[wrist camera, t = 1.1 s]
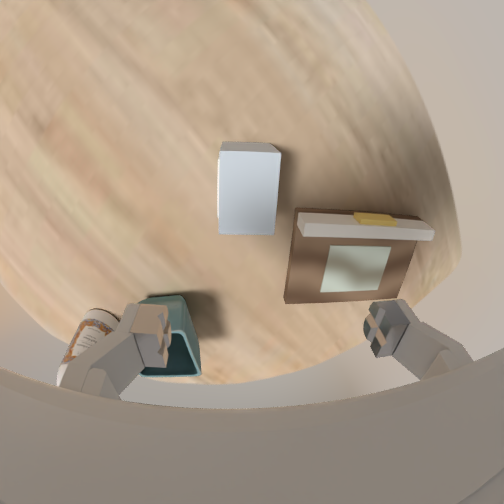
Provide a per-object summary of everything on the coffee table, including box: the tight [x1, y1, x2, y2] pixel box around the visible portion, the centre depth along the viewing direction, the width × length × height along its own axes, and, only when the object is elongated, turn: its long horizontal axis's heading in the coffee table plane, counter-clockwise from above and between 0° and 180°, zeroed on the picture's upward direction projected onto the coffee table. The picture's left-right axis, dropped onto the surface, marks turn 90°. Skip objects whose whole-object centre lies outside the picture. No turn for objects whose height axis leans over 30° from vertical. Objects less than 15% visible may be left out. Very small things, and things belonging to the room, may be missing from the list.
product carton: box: [217, 142, 281, 235], centre depth 26 cm, size 5×8×7 cm
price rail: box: [297, 212, 435, 241], centre depth 30 cm, size 2×18×3 cm, turn 87°
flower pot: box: [137, 295, 201, 377], centre depth 34 cm, size 9×9×9 cm
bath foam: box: [57, 309, 119, 387], centre depth 30 cm, size 7×7×20 cm
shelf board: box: [284, 208, 423, 304], centre depth 34 cm, size 13×18×2 cm
